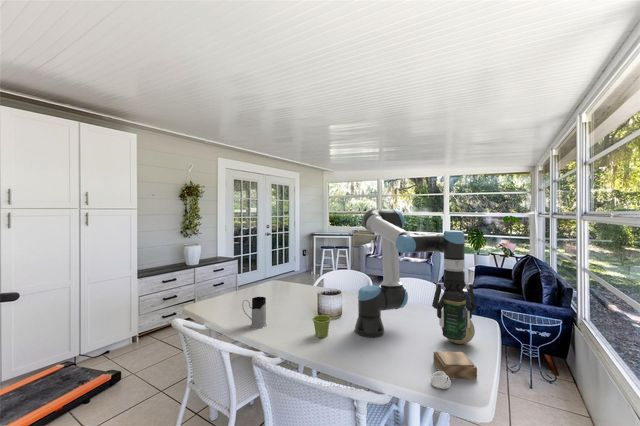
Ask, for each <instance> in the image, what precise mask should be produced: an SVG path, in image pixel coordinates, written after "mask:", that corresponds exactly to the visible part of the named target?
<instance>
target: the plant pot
mask: <svg viewBox="0 0 640 426" xmlns="http://www.w3.org/2000/svg"><path fill="white" fill-rule="evenodd" d="M331 320H332V318H331V317H330V316H328V315H322V314H321V315H316V316H315V315H314V317H312V321H313V325H314V331H315V332H314V333H315V337H317V338H323V339H324V338H326V337H328V334H329V327H330V322H331Z"/></svg>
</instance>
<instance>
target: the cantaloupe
mask: <svg viewBox="0 0 640 426" xmlns="http://www.w3.org/2000/svg"><path fill="white" fill-rule="evenodd" d="M441 330H442V332H443V327H441ZM475 332H476V331H475V325H474V323H473V321H472V318H471V319H470V328H467V327H466V336H465V338H464V339H462V340H451V339H448V338H446V339H447V340H448V341H449V342H452V343H455V344H458V345H462V344H466V343H469V342H471V341H472V340H473V339H474V337H475Z"/></svg>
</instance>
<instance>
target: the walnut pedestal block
mask: <svg viewBox="0 0 640 426" xmlns="http://www.w3.org/2000/svg"><path fill="white" fill-rule="evenodd" d="M433 364H434V366H435V367H436V366H437V367H436V368H437V370H438V369H439V370H438V371H443V372H444V373H445V374H446V375H447V376H448V377H449V378H454V379H453V380H478V368H477V366H476V365H475V364H474V363H473V361H471V360H470V358H469V357H468V356H467V355H466V354H465V353H464V352H463V351H438V350H437V351H433Z"/></svg>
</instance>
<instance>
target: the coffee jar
mask: <svg viewBox="0 0 640 426" xmlns="http://www.w3.org/2000/svg"><path fill="white" fill-rule="evenodd" d="M463 292H464V293H465V294H463V293H460V292H459V291H456V290H452V291H446V292H444V291H443V293H442V295H443V299H444V306H443V308H442V310H443V311H444V327H443V331H442V336H443V337H444V338H446V339H447V338H448V339H451V340H462V339H464V338H465V336H466V309H467V308H466V298H467V293H466V292H465V291H464V290H463ZM448 339H447V340H448Z"/></svg>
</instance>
